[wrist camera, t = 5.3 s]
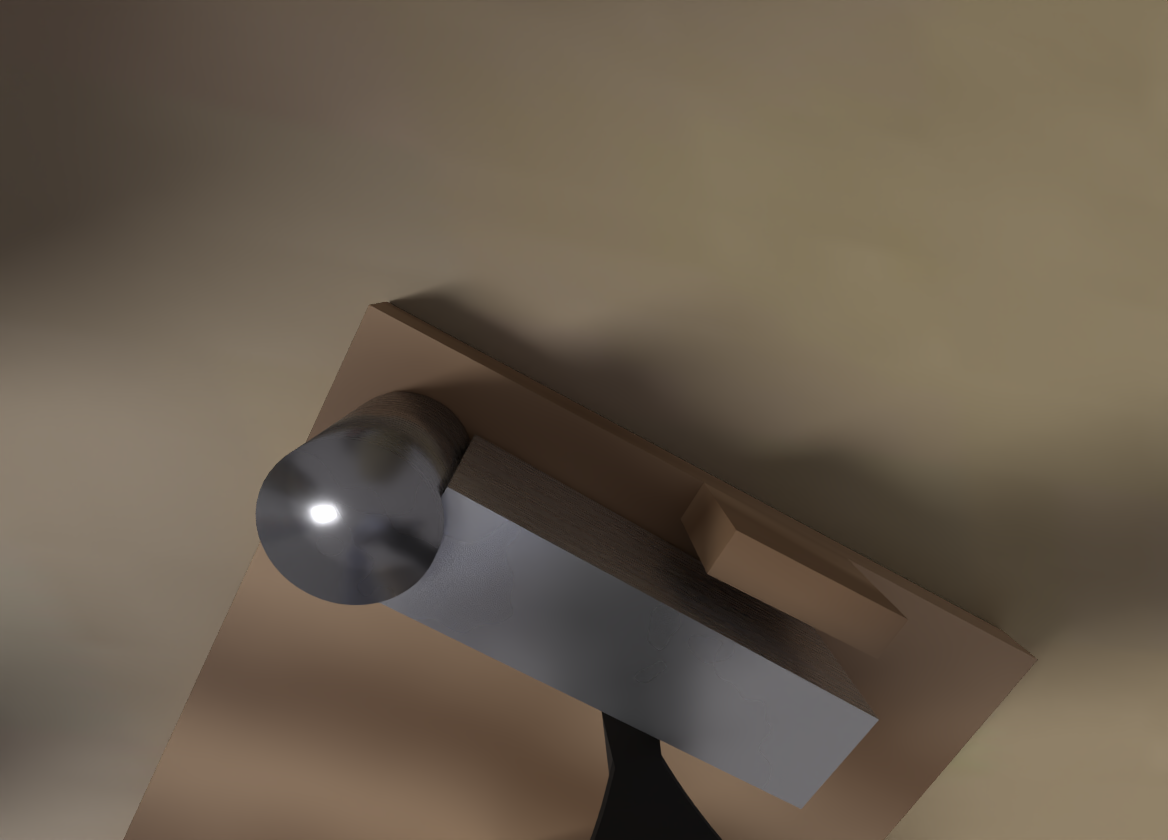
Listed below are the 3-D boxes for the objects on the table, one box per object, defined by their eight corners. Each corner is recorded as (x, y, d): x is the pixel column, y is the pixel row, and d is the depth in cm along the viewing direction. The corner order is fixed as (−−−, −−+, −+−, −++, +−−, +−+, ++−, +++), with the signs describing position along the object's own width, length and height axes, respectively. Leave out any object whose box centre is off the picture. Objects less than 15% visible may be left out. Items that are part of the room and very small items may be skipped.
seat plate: (645, 1061, 19) (664, 1236, 16) (114, 887, 16) (-7, 1054, 13) (1001, 630, 15) (1131, 735, 12) (387, 301, 12) (319, 313, 9)
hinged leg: (317, 477, 12) (226, 554, 9) (376, 366, 11) (303, 404, 8) (744, 699, 14) (801, 831, 11) (813, 613, 13) (895, 724, 10)
